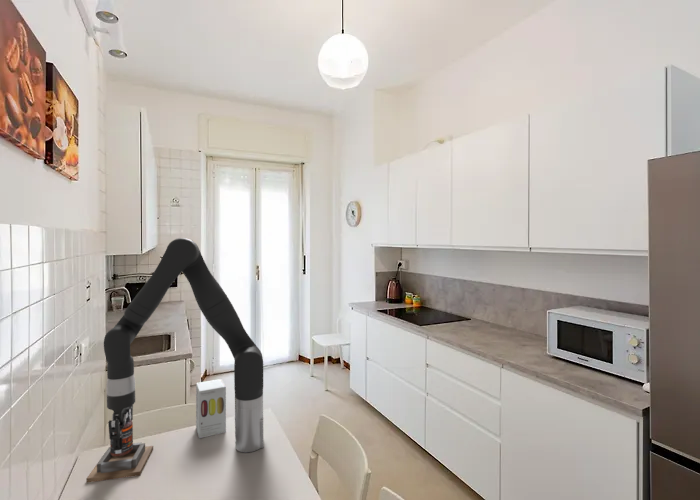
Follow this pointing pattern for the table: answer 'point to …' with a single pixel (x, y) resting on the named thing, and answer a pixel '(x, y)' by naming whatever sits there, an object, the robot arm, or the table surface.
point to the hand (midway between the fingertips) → (122, 443)
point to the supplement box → (210, 408)
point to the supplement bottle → (124, 440)
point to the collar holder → (121, 464)
